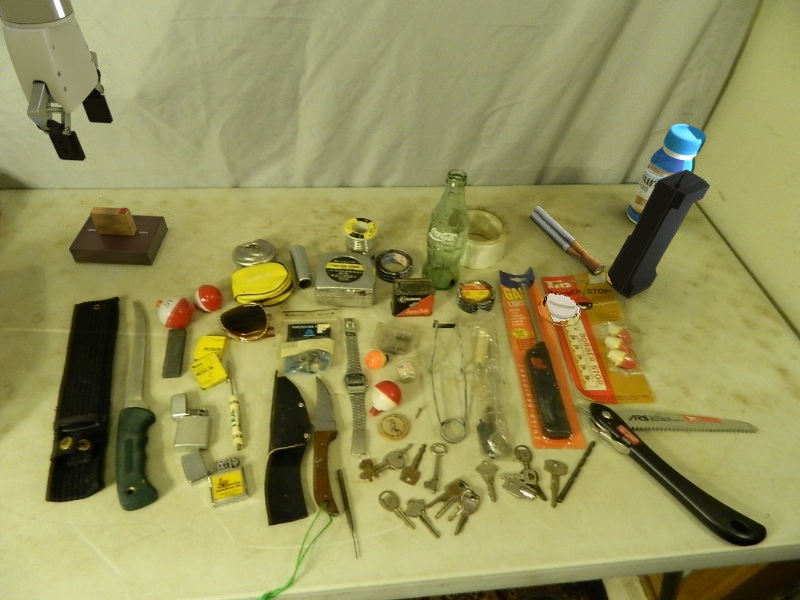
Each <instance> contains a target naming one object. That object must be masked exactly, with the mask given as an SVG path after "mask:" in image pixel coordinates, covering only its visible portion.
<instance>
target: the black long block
mask: <svg viewBox="0 0 800 600" xmlns="http://www.w3.org/2000/svg"><path fill="white" fill-rule="evenodd" d="M710 187H711V185H710V184H709V183H708V182H707V181H706V180H705V178H702V177H701V176H699V175H697V174H696V173H694V172H693V173H692V172H691V171H689V170H687V169H686V170H683V171H679V172H677V173H674V174H672V175H669V176H667V177H664V178H662V179H659V180H658V181H657V183H656V185H655V187H654V189H653V191H652V193H651V195H650V197H649V199H648V201H647V203H646V205H645V207H644V209H643V211H642V213H641V214H640V216H639V220H638V222H637V224H635V226H634V228H633V230H632V232H631V234H628V236H627V237H626V239H625V240H624V243H623V245H622V246H621V248H620V250H619V252H618V254H617V256H616V257H615V259H614V261H613V262H612V263H611V265H610V267H609V269H608V270H607V272H606V274H607V273H608V276H609V278H610V281H611V283H612V286H611V287H612V288H614V289H615V290H616V291H617V292H619V293H620V294H622V295H623V296H625V297H628V298H632V297H634V296H635V295H637V294H639V293H641V292H643V291H645V290H647V289H650V287H651V286H652V285H653V283H654V281H655V280H656V278H657V276H658V273H657V267H658V265H659V263H660V262H661V260H662V259H663V256H664V255H665V253H666V251H667V249H668V248H669V246H670V245H671V242H672V241H673V239H674V237H675V236H676V234H677V232H678V231H679V228H680V227H681V225H682V223H683V222H684V220H685V218H686V216H687V215H688V213H689V212H690V210H691V208H692V206H693V204H694V203H696V202H699V201H701V200H703V199H704V197H705V195H706V194H707V192H708V190H709V189H710Z"/></svg>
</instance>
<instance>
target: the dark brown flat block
mask: <svg viewBox="0 0 800 600" xmlns="http://www.w3.org/2000/svg"><path fill="white" fill-rule="evenodd" d="M132 217H133V220H134V223H135V225H136V228H137V230H136V232H135V234H134V236H131V235H109V234H99V233H98V231H97V229H96V227H95V224H94V222H93V220H92V218H91V215H90V214H89V216H88V217H87V219H86V221H85V222H84V223H83V225H82V227H81V228H80V230H79V232H78V234H77V235H76V237H75V238H74V240H73V241H72V242H71V245H70V246H69V248H68V251H69V253H70V255H71V257H72V259H73V260H74V262H76V263H97V264H118V265H143V266H152V265H153V264H154V263H153V262H154V260H155V258H156V256H157V253H158V252H159V249H160V247H161V245H162V243H163V241H164V238H165V237H166V234H167V231H168V230H169V228H168V225H167V221H166V219H165V216H164V215H163V216H162V215H140V214H132Z"/></svg>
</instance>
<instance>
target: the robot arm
mask: <svg viewBox="0 0 800 600" xmlns="http://www.w3.org/2000/svg"><path fill="white" fill-rule="evenodd" d="M0 21H1V23H2V24H3V26H2V27H1V29H2V34H3V38H4V41H5V45H6V49H7V52H8V55H9V58H10V62H11V63H12V67H13V69H14V71H15V75H16V77H17V80H18V83H19V84H20V85H19V86H20V87H21V89H22V92H23V94H24V96H25V99H26V101H27V103H28V105H27V109H26V114H27V117H28V118H29V119H30V120H31V121H32V122H33V123H34V124H35V125H36V127H37V129H38V130H40V131H43V133H44V134H45V135H48V137H49V139H50V142H51V144H52V146H53V148H54V150H55V152H56V155H57V157H58V158H59V159H60V160H62V161H77V162H83V161H85V159H87V156H86V154H85V151H84V149H83V147H82V143H81V142H80V140H79V137H78V134H77V132H76V130H72V118H71V117H72V115H71V114H72V113H73V112H74V111H76V110H77V108H79V106H81V104H82V106H83V109H84V112H85V114H86V117H87V119H88V122H90V123H92V124H93V123H94V124H95V123H97V124H112V123H113V121H114V119H113V116H112V113H111V110H110V106H109V103H108V101H107V99H106V96H105V87H104V85H103V84H102V83H101V78H102V74H101V70H100V69H99V63H98V56H97V55H98V54H97V53H96V52H95V51H91V50H90V48H89V45H88V42H87V41H86V38H85V35H84V34H83V31H82V29H81V27H80V24H79V22H78V20H77V18H76V12H75V10H74V7H73V5H72V2H71V0H0ZM52 104H57V105H58V106H52ZM53 114H55V115H56V114H57V115H60V122H58V121H57V120H55V119H53Z"/></svg>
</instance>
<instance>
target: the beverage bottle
mask: <svg viewBox="0 0 800 600" xmlns="http://www.w3.org/2000/svg"><path fill="white" fill-rule="evenodd" d="M706 140H707V135H706V134H705V132H704V131H703V130H701V129H699V128H698V127H696V126H693V125H689V124H684V123H675V124H673V125H671V126H670V127H669V129H668V130H667V132H666V134H665V137H664V139H663V142H662V144H663V146H661V147H660V148H658V149H657V150H656V151H655V152H654V153H653V154H652V155H651V157H650V162H649V163H648V164H647V165H646V166H645V168H644V170H643V174H642V176H641V178H640V179H639V183H638V185H637V187H636V189H635V191H634V193H633V196H632V197H631V200H630V202H629V204H628V206H627V208H626V216H627V217H628V219H629V220H630V221H631V222H632V223H634V224H635V225H636V224H637V222H638V220H639V216H640V214H641V213H642V211H643V209H644V207H645V205H646V203H647V201H648V199H649V197H650V195H651V193H652V191H653V189H654V187H655V185H656V183H657V181H658V180H659V179H662V178H664V177H667V176H669V175H672V174H674V173H677V172H679V171H683V170H686V169H687V170H689V171H691V172H692V173H694V172H695V169H696V156H697V155H698V154H699V153H700V152H701V150H702V149H703V147H704V145H705V144H706Z"/></svg>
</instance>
